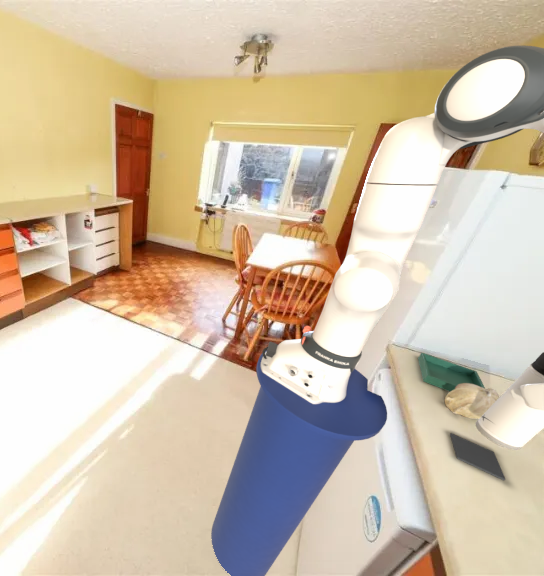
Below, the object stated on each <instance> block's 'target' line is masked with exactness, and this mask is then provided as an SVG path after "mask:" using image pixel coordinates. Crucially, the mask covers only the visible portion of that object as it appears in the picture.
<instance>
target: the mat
mask: <svg viewBox="0 0 544 576" xmlns="http://www.w3.org/2000/svg"><path fill="white" fill-rule="evenodd" d="M449 436H450V438H451V439H450V440H451V444H452V446H453V450H454V454H455V457H456V459H457V460H459V461H461V462H463V463H465V464H467V465H470V466H472V467H473V468H476V469H478V470H479V471H482V472H485V473H487V474H489V475H490V476H493V477H495V478H497V479H500V480H502V481H506V478H505V475H504V473H503V470H502V468H501V465H500V463H499V460H498V458H497V456H496V454H495V452H494V450H491V449H489V448H487V447H483V446H482V445H480V444H477V443H475V442H473V441H470V440H468V439H466V438H464V437H461V436H459V435H458V434H457V435H456V434H454V433H453V432H451V433H449Z"/></svg>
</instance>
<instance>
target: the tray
mask: <svg viewBox="0 0 544 576" xmlns="http://www.w3.org/2000/svg"><path fill="white" fill-rule="evenodd" d="M417 361H418V365H419V369H420V374H421V378H422V381H423V382H424V383H427V384H429V385H432V386H434V387H437V388H440V389H442V390H444V391H447V392H450V391H452V390H454V389H455V387H456V386H457V385H458V384H462V383H470V384H475V385H477V386H480V387H482V388H485V389H486V387H485V385H484V383H483V381H482V379H481V377H480V375H479V373H478V371H477V370H474V369H471V368H468V367H466V366H462V365H460V364H457V363H454V362H451V361H448V360H444V359H442V358H439V357H437V356H434V355H430V354H427V353H425V352H421V353H420V354H419V356H418V357H417Z"/></svg>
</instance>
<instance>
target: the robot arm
mask: <svg viewBox="0 0 544 576" xmlns="http://www.w3.org/2000/svg"><path fill="white" fill-rule="evenodd" d="M524 129H526V130H527V129H528V130H529V129H530V130H536V131H539V132H541V133H543V134H544V47H539V46H535V45H509V46H503V47H500V48H496V49H493V50H490V51H488V52H485V53H484V54H481V55H479V56H477V57H475V58H473V59H472V60H470V61H469V62H467V63H466V64H465V65H463V66H462V67H461V68H460V69H458V70H457V71H456V72H454V74H453V75H452V76H451V77H450V78H449V79H448V80H447V82H446V83H445V84H444V85H443V87H442V89H441V90H440V92H439V94H438V96H437V99H436V101H435V104H434V112H433V113H431V114H427V115H425V116H423V115H422V116H417V117H412V118H409V119H406V120H403V121H401V122H399V123H397V124H395V125H393V127H391V128H390V129H389V130H388V131H387V132H386V134H385V135H384V137H383V138H382V141H381V143H380V145H379V147H378V148H377V151H376V153H375V155H374V157H373V159H372V162H371V165H370V167H369V170H368V173H367V176H366V179H365V182H364V186H363V189H362V192H361V196H360V198H359V202H358V206H357V209H356V213H355V216H354V219H353V224H352V228H351V229H352V230H351V235H350V239H349V242H348V247H347V251H346V254H345V258H344V259H343V261H342V264H341V265H340V267H339V268H338V270H337V271H336V272H335V274H334V277H333V280H332V283H331V285H330V288H329V291H328V293H327V296H326V299H325V302H324V305H323V308H322V310H321V313H320V315H319V318H318V320H317V323H316V325H315V327H314V329H312V327H311V326H310V325H305V326H304V327H303V329H302V333H303V334H302V337H301V338H297V339H285V340H283V341H281V342H280V343H279V344H278V343H276V342H272V341H269V342H268V345H267V346H266V347H264V348H263V349H262V353H261V354H263V358H262V360H261V370H262V372H263V373H264V374H266V375H267V376H269V377H270V378H272V379H274V380H275V381H277V382H278V383H280V384H282V385H283V386H285V387H286V388H288V389H289V390H291V391H293V392H294V393H296V394H297V395H299V396H300V397H302V398H304V399H305V400H307V401H308V402H310V403H312V404H319V403H322V402H329V403H335V402H340V401H342V400H343V399H344V398H345V397H346V390H347V384H348V380H349V377H350V374H351V372H353V370H354V369H356V368H357V366H358V365H359V363H360V361H361V358H362V355H363V354H362V353H363V350H364V347H365V346H366V344H367V343H368V340H369V338H370V337H371V334H372V333H373V331H374V330H375V328H376V326H377V325H378V323H379V322H380V320H382V318H383V316H384V315H385V313H386V311H388V309H389V307H390V305H391V303H392V302H393V300H394V298H395V297H396V296H397V294H398V292H399V290H400V285H401V277H402V276H401V275H402V271H403V268H404V265H405V262H406V260H407V258H408V255H409V254H410V251H411V250H412V248H413V247H412V246H413V244H414V242H415V240H416V238H417V236H418V234H419V232H420V230H421V229H422V228H421V227H422V225H423V223H424V220H425V218H426V216H427V213H428V211H429V208H430V205H431V203H432V201H433V198H434V196H435V192H436V190H437V188H438V186H439V183H440V181H441V177H442V175H443V172H444V170H445V168H446V166H447V163H448V162H449V160H450V159H451V157H452V156H453V154H454V153H456V151H458V150H463V149H466V148H470V147H473V146H477V145H482V144H487V143H490V142H494V141H497V140H498V141H499V140H502V139H504V138H507V137H510V136H513V135H514V134H517V133H519V132H521V131H522V130H524ZM277 345H278V346H277ZM266 350H267V352H266V353H265V351H266ZM511 394H512V397H513V398H514V399H517V400H524V402H525V404H526V405H527V406H528V407H530V408H533V409H537V410H542V411H544V383H536V384H525V385H521V386H520V389H511Z"/></svg>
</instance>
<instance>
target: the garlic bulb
mask: <svg viewBox="0 0 544 576" xmlns="http://www.w3.org/2000/svg"><path fill="white" fill-rule="evenodd" d="M499 397H500V395H499V394H498V392H497V390H496V389H495V388H486V387H485V388H482V387H480V386H477V385H475V384H470V383H462V384H458V385H457V386H456V387H455V389H454V390H452V391H448V392H447V394H446V395H445V398H444V405H445V407H446V408H447V409H449V410H450V411H451V412H452V414H455V415H459V416H461V417H464V418H468V419H475V420H478V419H479V418H481V416H482V415H483V414H484V413H485V412H486V411H487V410H488V409H489V408H490V407H491V406H492V405H493V404H494V403H495V402H496V400H497V399H498V398H499Z"/></svg>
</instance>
